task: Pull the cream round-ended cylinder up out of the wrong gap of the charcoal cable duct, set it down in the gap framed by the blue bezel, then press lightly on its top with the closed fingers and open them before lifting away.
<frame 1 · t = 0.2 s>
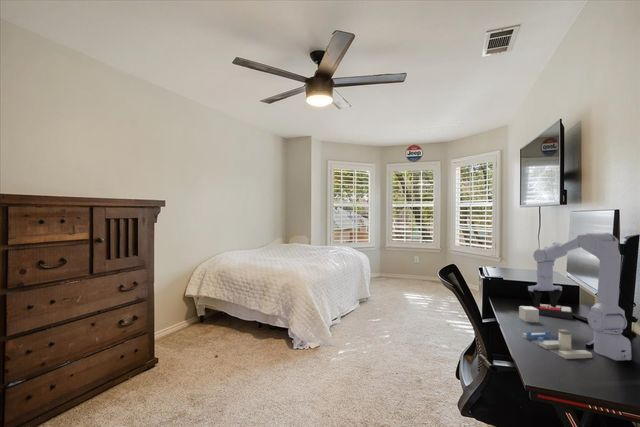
hand: (545, 307, 139), 10 cm above the table, tool pointing down, fingers open, 7 cm apart
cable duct: (554, 349, 117), on the table
cream white cube: (528, 320, 152), on the table
cream round-ended cylinder: (565, 351, 113), point 1 cm above the table, touching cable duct
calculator: (553, 315, 161), on the table
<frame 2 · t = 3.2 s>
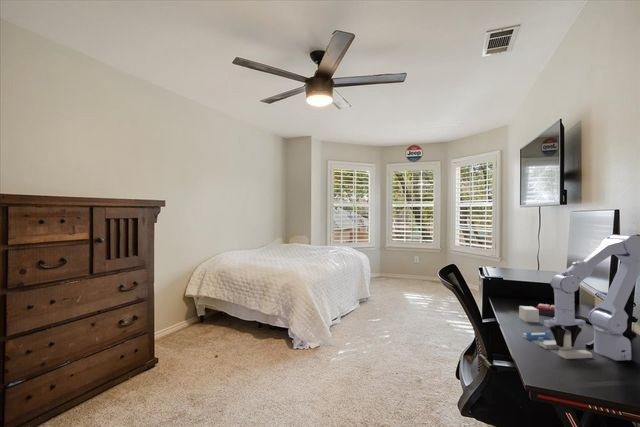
hand: (565, 345, 113), 3 cm above the table, tool pointing down, fingers closed on cream round-ended cylinder, 4 cm apart
cream round-ended cylinder: (565, 351, 113), point 1 cm above the table, touching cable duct, gripper
when the fingers open (4 cm above the table, at t = 7.0 s): cream round-ended cylinder stays where it is, resting on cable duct.
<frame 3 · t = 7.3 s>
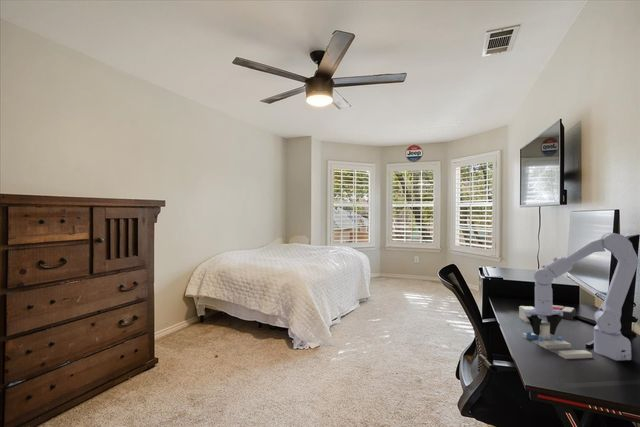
hand: (544, 334, 122), 4 cm above the table, tool pointing down, fingers open, 6 cm apart
cream round-ended cylinder: (544, 341, 122), point 1 cm above the table, touching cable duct
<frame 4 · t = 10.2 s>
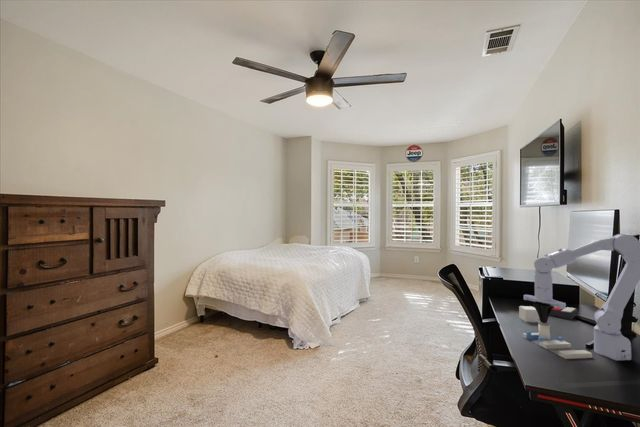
hand: (543, 322, 123), 8 cm above the table, tool pointing down, fingers closed, pressing on cream round-ended cylinder
cream round-ended cylinder: (544, 341, 122), point 1 cm above the table, touching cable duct, gripper
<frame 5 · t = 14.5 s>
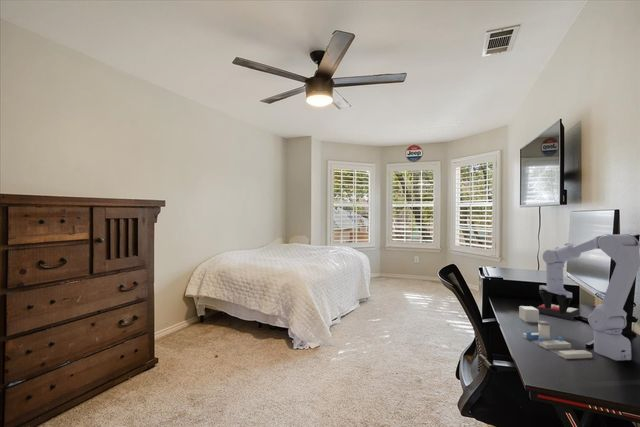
hand: (555, 310, 132), 10 cm above the table, tool pointing down, fingers open, 7 cm apart
cream round-ended cylinder: (544, 341, 122), point 1 cm above the table, touching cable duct
at the end: cream round-ended cylinder 0.0 cm from the target spot on the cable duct, point 1.0 cm above the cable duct's base; cream round-ended cylinder tilted 1°; the gripper is holding nothing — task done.
